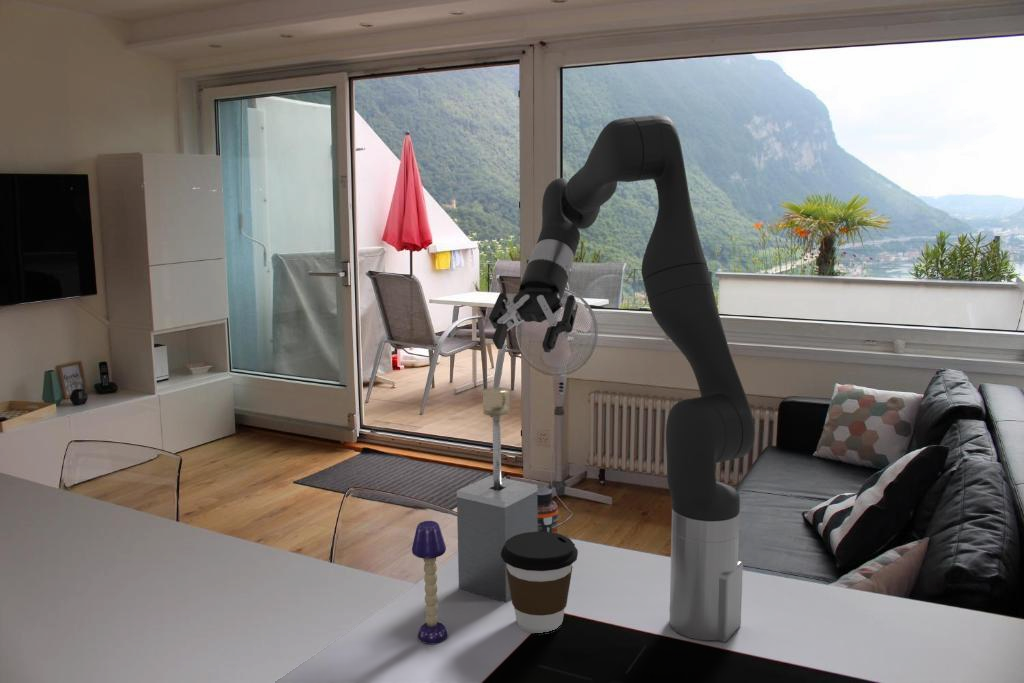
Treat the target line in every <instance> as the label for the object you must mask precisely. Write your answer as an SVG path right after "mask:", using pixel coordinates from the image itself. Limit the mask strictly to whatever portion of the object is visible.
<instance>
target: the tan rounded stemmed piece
mask: <svg viewBox="0 0 1024 683" xmlns="http://www.w3.org/2000/svg"><path fill="white" fill-rule="evenodd" d="M482 394H483V395H482V405H483V406H482V407H483V408H482V410H483V413H482V414H484V415H485V416H488V417H489V416H492V462H493V463H492V470H493V471H492V474H493V475H492V476H493V483H494V490H498V491H500V490H501V478H502V449H501V448H502V443H501V442H502V440H501V437H502V436H501V428H502V427H501V416H506V415H509V414H510V389H509V388H506V387H488V388H484V389H483V390H482Z"/></svg>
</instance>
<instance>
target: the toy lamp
mask: <svg viewBox="0 0 1024 683" xmlns="http://www.w3.org/2000/svg"><path fill="white" fill-rule="evenodd" d="M445 552H447V547H446V542H445V539H444V536H443V533H442V529H441V527H440V524H439V523H438V522H437V521H434V520H426V521H425V520H424V521H422V522H418V524H417V525H416V529H415V533H414V538H413V542H412V547H411V553H412V554H413V556H414V557H416V558H420V559H423V562H424V564H423V571H424V575H423V577H424V579H423V580H424V583H425V584H424V592H425V596H424V602H425V608H424V610H425V614H426V616H425V623H423V624H422V625H420V627H419V629H418V631H417V639H418V640H419V642H422V643H423V644H429V645H430V644H431V645H432V644H440V643H441V642H444V641H446V640H447V638H448V637H449V632H448V628H447V627H446V625H444V624H443V623H442V622H441V621H439V615H438V611H439V606H438V599H439V598H438V593H437V592H438V589H439V588H438V583H437V581H438V574H437V573H436V572H437V569H438V568H437V567H438V566H437V563H436V561H437V558H439V557H442V556H443V555H445Z"/></svg>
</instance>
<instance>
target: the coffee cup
mask: <svg viewBox="0 0 1024 683" xmlns="http://www.w3.org/2000/svg"><path fill="white" fill-rule="evenodd" d="M578 551H579V550H578V548H577V547H576V545H575V543H574V542H573V541H572V539H571V538H569V537H567V536H565V535H563V534H561V533H558V534H556V533H551V532H527V533H522V534H518V535H515V536H513V537H511V538H510V539H508V540H507V541H506V542H505V545H504V546H503V548H502V551H501V557H502V559H503V561H504V562H505V563H506V564H507V568H506V570H507V576H508V582H509V588H510V594H511V604H512V606H513V609H514V615H515V620H516V621H517V623H518V625H519V628H520V629H522V630H523V631H524V632H525V633H526V632H527V633H531V634H534V633H543V632H549V631H552V630H555V629H557V628H558V627H559V626H560V625H561V626H562V623H563V620H564V615H565V609H566V607H567V604H568V597H569V591H570V584H571V580H572V579H571V578H572V573H573V563H575V562H576V561H577V559H578V554H579V552H578ZM561 626H560V627H561ZM560 627H559V628H560ZM559 628H558V629H559ZM558 629H557V630H558Z"/></svg>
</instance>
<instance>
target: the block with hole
mask: <svg viewBox="0 0 1024 683" xmlns="http://www.w3.org/2000/svg"><path fill="white" fill-rule="evenodd" d="M537 488H538V484H534V483H529V482H523V481H519V480H514V479H509V478H506V477H501V490H500V491H498V490H494V483H493V475H489V476H487V477H485V478H482V479H479V480H478V481H475V482H473V483H471V484H469V485H467V486H464V487H462V488H460V489H457V490H456V514H457V515H456V516H457V518H456V520H457V521H456V522H457V558H458V559H457V562H458V564H457V565H458V567H457V568H458V569H457V570H458V589H459V588H461V589H460V590H462V589H465V590H464V591H466V590H468V591H467V592H469V591H470V592H469V593H472V592H473V594H476V595H479V594H480V595H479V596H483V597H486V598H489V599H493V600H496V601H499V602H502V601H503V603H505V602H506V603H508V602H510V599H511V594H510V588H509V582H508V576H507V570H506V568H507V564H506V563H505V562H504V561H503V559H502V557H501V551H502V548H503V546H504V545H505V542H506V541H507V540H508V539H510V538H511V537H513V536H515V535H518V534H522V533H527V532H538V509H537ZM511 600H512V599H511ZM507 601H508V602H507Z"/></svg>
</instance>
